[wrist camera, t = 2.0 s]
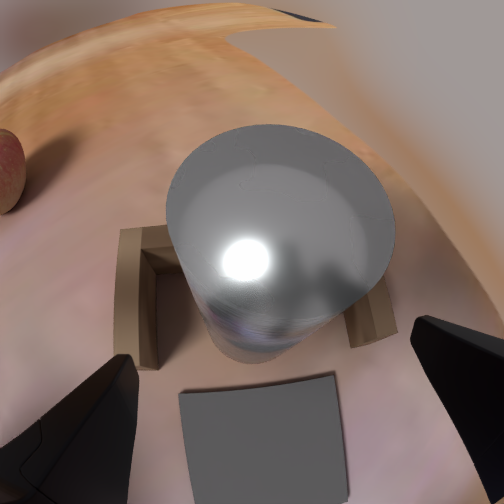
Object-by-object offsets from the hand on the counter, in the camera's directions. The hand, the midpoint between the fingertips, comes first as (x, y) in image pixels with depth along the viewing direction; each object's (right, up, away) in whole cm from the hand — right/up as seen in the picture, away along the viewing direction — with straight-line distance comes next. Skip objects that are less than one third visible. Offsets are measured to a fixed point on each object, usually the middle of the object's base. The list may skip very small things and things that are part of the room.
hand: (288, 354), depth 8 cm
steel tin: (-1, -2, +11) cm, 11 cm away
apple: (-28, +9, +14) cm, 33 cm away
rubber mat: (0, -10, +7) cm, 12 cm away
